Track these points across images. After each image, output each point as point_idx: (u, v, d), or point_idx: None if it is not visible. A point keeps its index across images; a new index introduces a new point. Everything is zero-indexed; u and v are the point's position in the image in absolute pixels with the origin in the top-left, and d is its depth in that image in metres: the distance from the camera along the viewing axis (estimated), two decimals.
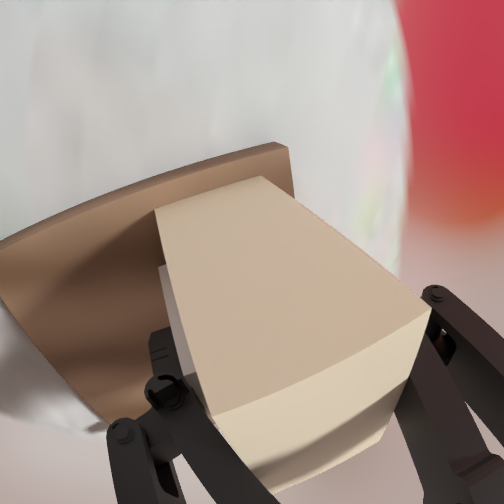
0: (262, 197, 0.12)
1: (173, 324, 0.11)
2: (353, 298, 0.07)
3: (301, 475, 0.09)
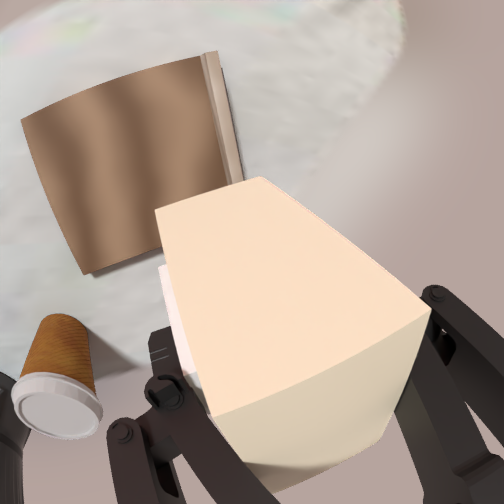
0: (262, 198, 0.12)
1: (173, 324, 0.11)
2: (353, 300, 0.07)
3: (301, 475, 0.09)
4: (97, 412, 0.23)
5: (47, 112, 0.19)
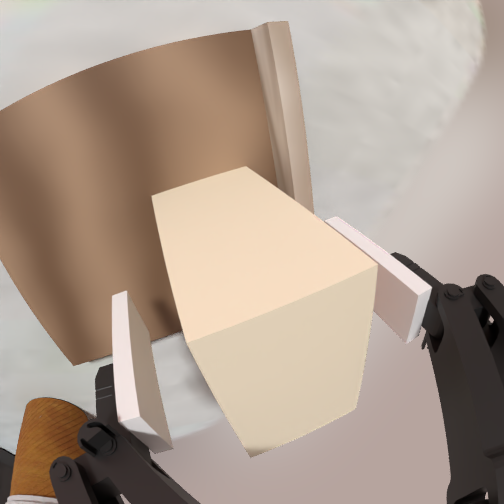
0: (244, 183, 0.13)
1: (116, 363, 0.09)
2: (309, 257, 0.08)
3: (279, 435, 0.10)
4: None
5: None
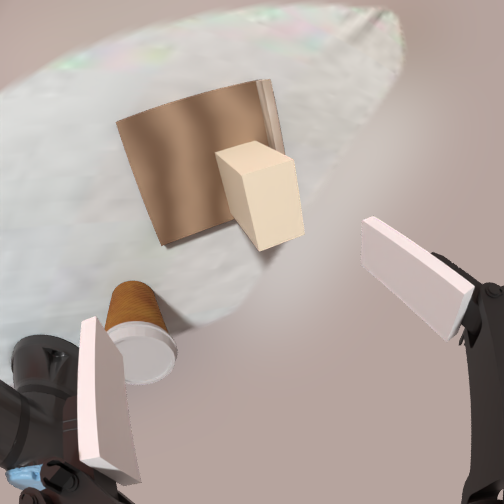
0: (255, 146, 0.33)
1: (80, 397, 0.08)
2: (274, 160, 0.28)
3: (270, 236, 0.30)
4: (174, 353, 0.33)
5: (140, 118, 0.29)
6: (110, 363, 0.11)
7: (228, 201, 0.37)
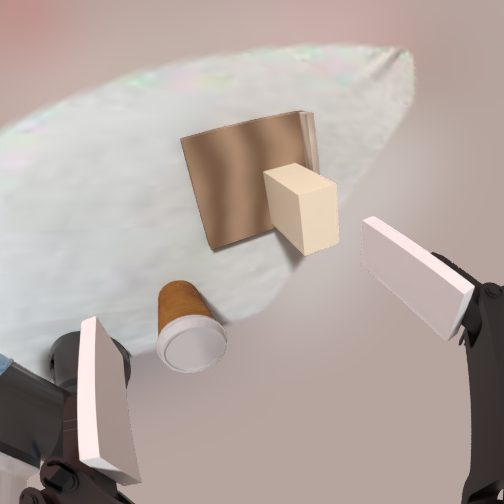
0: (298, 168, 0.40)
1: (80, 398, 0.08)
2: (321, 183, 0.35)
3: (314, 244, 0.37)
4: None
5: (203, 138, 0.36)
6: (110, 363, 0.11)
7: (271, 213, 0.44)
